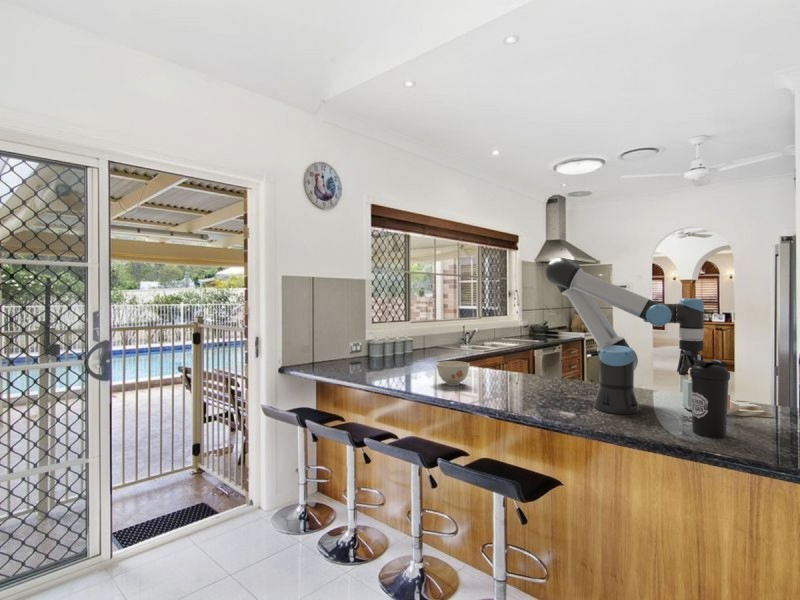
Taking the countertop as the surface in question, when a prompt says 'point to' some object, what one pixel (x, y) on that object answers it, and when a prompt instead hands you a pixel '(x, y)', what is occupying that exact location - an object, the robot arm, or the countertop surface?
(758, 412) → the lane board
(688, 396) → the strip
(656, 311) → the robot arm
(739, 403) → the broken strip
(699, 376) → the water bottle
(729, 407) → the block
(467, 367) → the bowl
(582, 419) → the countertop surface
